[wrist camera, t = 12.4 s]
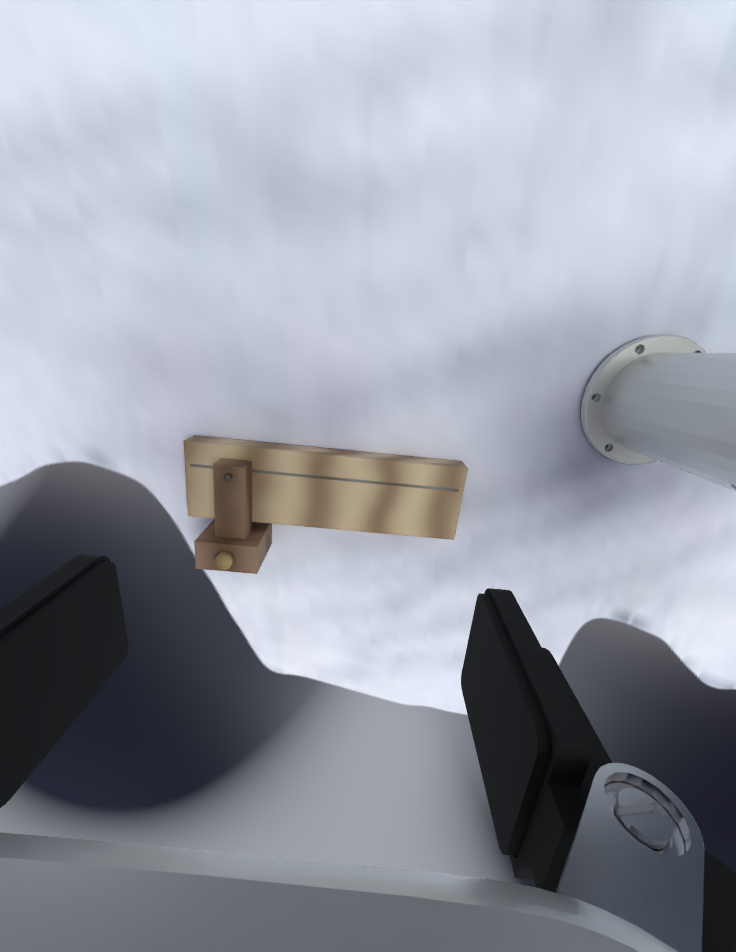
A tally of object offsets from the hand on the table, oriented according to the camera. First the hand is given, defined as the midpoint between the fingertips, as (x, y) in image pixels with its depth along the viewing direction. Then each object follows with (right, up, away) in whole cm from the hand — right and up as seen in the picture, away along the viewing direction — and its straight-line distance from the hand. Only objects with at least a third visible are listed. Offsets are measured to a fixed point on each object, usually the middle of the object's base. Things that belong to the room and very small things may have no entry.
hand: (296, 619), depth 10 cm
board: (-3, +3, +31) cm, 31 cm away
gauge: (-12, +1, +32) cm, 34 cm away
